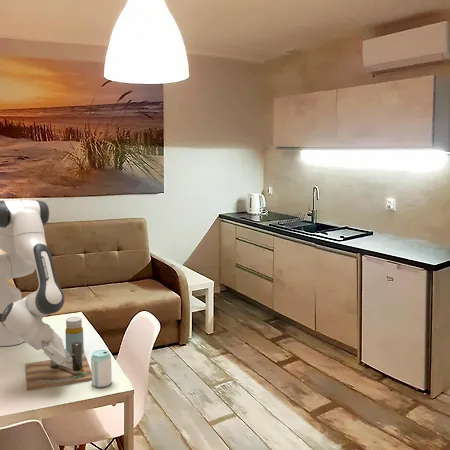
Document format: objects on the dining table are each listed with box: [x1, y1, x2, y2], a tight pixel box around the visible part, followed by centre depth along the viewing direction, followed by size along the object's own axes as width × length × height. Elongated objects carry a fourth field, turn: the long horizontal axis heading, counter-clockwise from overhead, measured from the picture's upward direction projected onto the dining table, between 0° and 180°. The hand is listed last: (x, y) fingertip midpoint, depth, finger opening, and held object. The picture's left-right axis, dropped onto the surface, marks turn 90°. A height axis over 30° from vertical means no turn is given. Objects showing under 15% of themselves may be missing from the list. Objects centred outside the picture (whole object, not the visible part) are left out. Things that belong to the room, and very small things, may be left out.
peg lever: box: [50, 342, 85, 374], centre depth 197 cm, size 18×5×12 cm, turn 55°
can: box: [90, 349, 113, 388], centre depth 189 cm, size 7×7×12 cm
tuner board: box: [24, 354, 92, 392], centre depth 198 cm, size 22×23×1 cm
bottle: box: [65, 316, 85, 356], centre depth 215 cm, size 7×7×15 cm
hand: (70, 359), depth 192 cm, fingers closed
